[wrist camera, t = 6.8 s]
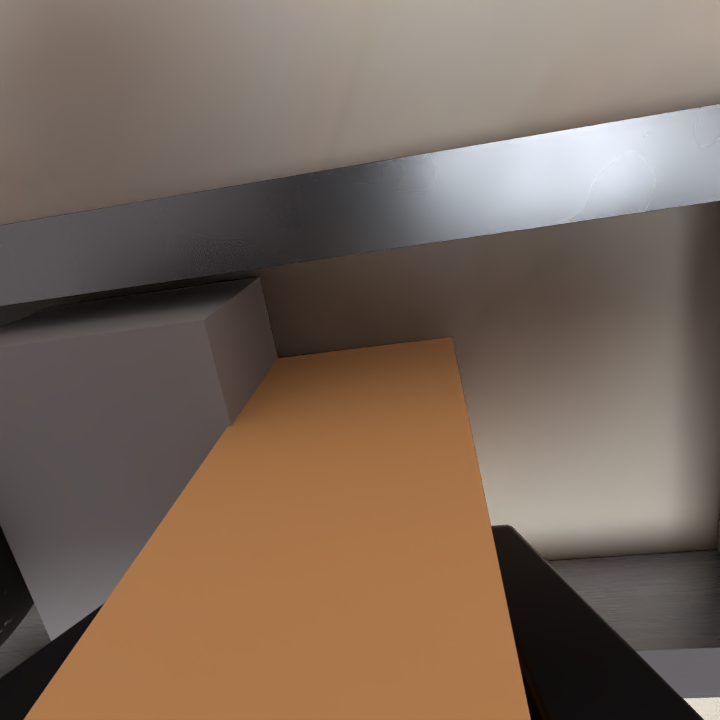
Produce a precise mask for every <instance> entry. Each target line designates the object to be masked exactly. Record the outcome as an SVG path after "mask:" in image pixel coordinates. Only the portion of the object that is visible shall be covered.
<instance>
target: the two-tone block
mask: <svg viewBox="0 0 720 720" xmlns="http://www.w3.org/2000/svg"><path fill="white" fill-rule="evenodd" d="M0 525H1V528H2V530H3V532H4V535H5V537H6V539H7V541H8V544H9V546H10V548H11V551H12V553H13V555H14V557H15V560H16V562H17V564H18V567H19V569H20V571H21V573H22V576H23V578H24V580H25V583H26V585H27V587H28V589H29V592H30V594H31V596H32V599H33V601H34V603H35V605H36V608H37V610H38V612H39V615H40V617H41V619H42V621H43V624H44V626H45V628H46V631H47V633H48V635H49V637H50V640H51V641H52V640H54V639H55V638H57V637H58V636H59V635H61V634H62V633H64V632H65V631H66V630H68V629H69V628H70V627H72V626H73V625H75V624H76V623H77V622H79V621H80V620H82V619H83V618H84V617H86V616H87V615H89V614H90V613H91V612H93V611H94V610H95V609H97V608H98V607H100V606H101V605H102V604H104V603H105V604H104V605H103V606H102V608H101V609H100V611H99V612H98V614H97V615H96V616H95V618H94V619H93V621H92V622H91V624H90V625H89V627H88V628H87V629H86V631H85V632H84V634H83V635H82V637H81V638H80V639H79V641H78V642H77V644H76V645H75V647H74V648H73V649H72V651H71V652H70V654H69V655H68V657H67V658H66V660H65V661H64V662H63V664H62V665H61V667H60V668H59V670H58V671H57V672H56V674H55V675H54V677H53V678H52V680H51V681H50V682H49V684H48V685H47V687H46V688H45V690H44V691H43V693H42V694H41V695H40V697H39V698H38V700H37V701H36V703H35V704H34V705H33V707H32V708H31V710H30V711H29V713H28V714H27V716H26V717H25V718H24V720H531V718H530V714H529V709H528V704H527V699H526V694H525V689H524V684H523V679H522V675H521V670H520V665H519V660H518V655H517V650H516V645H515V641H514V636H513V631H512V626H511V621H510V616H509V611H508V607H507V602H506V597H505V592H504V587H503V582H502V577H501V572H500V568H499V563H498V558H497V553H496V548H495V543H494V538H493V534H492V529H491V524H490V519H489V514H488V509H487V504H486V500H485V495H484V490H483V485H482V480H481V475H480V470H479V466H478V461H477V456H476V451H475V446H474V441H473V436H472V431H471V427H470V422H469V417H468V412H467V407H466V402H465V397H464V393H463V388H462V383H461V378H460V373H459V368H458V363H457V359H456V354H455V349H454V344H453V339H452V337H448V338H439V339H431V340H423V341H415V342H407V343H398V344H390V345H382V346H374V347H365V348H357V349H349V350H341V351H333V352H324V353H316V354H308V355H300V356H291V357H283V358H278V357H277V353H276V348H275V344H274V339H273V334H272V330H271V325H270V321H269V316H268V312H267V307H266V303H265V298H264V293H263V289H262V284H261V280H260V277H255V278H248V279H241V280H234V281H227V282H220V283H214V284H207V285H200V286H193V287H186V288H179V289H172V290H165V291H158V292H151V293H144V294H137V295H130V296H123V297H116V298H109V299H102V300H95V301H88V302H81V303H74V304H67V305H60V306H53V307H49V308H46V309H44V310H41V311H39V312H36V313H34V314H31V315H29V316H27V317H24V318H22V319H19V320H17V321H14V322H12V323H9V324H7V325H4V326H2V327H0Z"/></svg>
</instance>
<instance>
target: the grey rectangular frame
mask: <svg viewBox="0 0 720 720" xmlns="http://www.w3.org/2000/svg"><path fill="white" fill-rule="evenodd" d="M714 201H720V104H716V105H710V106H704V107H698V108H693V109H687V110H681V111H675V112H669V113H663V114H657V115H651V116H645V117H639V118H633V119H627V120H622V121H616V122H610V123H604V124H598V125H592V126H586V127H580V128H574V129H568V130H562V131H556V132H551V133H545V134H539V135H533V136H527V137H521V138H515V139H509V140H503V141H497V142H491V143H485V144H480V145H474V146H468V147H462V148H456V149H450V150H444V151H438V152H432V153H426V154H420V155H414V156H408V157H403V158H397V159H391V160H385V161H379V162H373V163H367V164H361V165H355V166H349V167H343V168H337V169H332V170H326V171H320V172H314V173H308V174H302V175H296V176H290V177H284V178H278V179H272V180H266V181H261V182H255V183H249V184H243V185H237V186H231V187H225V188H219V189H213V190H207V191H201V192H195V193H190V194H184V195H178V196H172V197H166V198H160V199H154V200H148V201H142V202H136V203H130V204H124V205H118V206H113V207H107V208H101V209H95V210H89V211H83V212H77V213H71V214H65V215H59V216H53V217H47V218H42V219H36V220H30V221H24V222H18V223H12V224H6V225H0V306H4V305H10V304H17V303H24V302H31V301H38V300H45V299H51V298H58V297H65V296H72V295H79V294H86V293H92V292H99V291H106V290H113V289H120V288H127V287H134V286H140V285H147V284H154V283H161V282H168V281H175V280H181V279H188V278H195V277H202V276H209V275H216V274H222V273H229V272H236V271H243V270H250V269H257V268H263V267H270V266H277V265H284V264H291V263H298V262H304V261H311V260H318V259H325V258H332V257H339V256H345V255H352V254H359V253H366V252H373V251H380V250H386V249H393V248H400V247H407V246H414V245H421V244H427V243H434V242H441V241H448V240H455V239H462V238H468V237H475V236H482V235H489V234H496V233H503V232H509V231H516V230H523V229H530V228H537V227H544V226H550V225H557V224H564V223H571V222H578V221H585V220H591V219H598V218H605V217H612V216H619V215H626V214H632V213H639V212H646V211H653V210H660V209H667V208H673V207H680V206H687V205H694V204H701V203H708V202H714ZM547 562H548V563H549V564H550V565H551V566H552V567H553V568H554V569H555V570H556V571H557V572H558V573H559V574H560V575H561V576H562V577H563V578H564V579H565V580H566V581H567V582H568V583H569V584H570V585H571V586H572V587H573V588H574V589H575V590H576V592H577V593H578V594H579V595H580V596H581V597H582V598H583V599H584V600H585V601H586V602H587V603H588V604H589V605H590V606H591V607H592V608H593V609H594V610H595V611H596V612H597V613H598V614H599V615H600V616H601V617H602V618H603V619H604V620H605V621H606V622H607V623H608V624H609V625H610V626H611V627H612V628H613V629H614V630H615V631H616V632H617V633H618V634H619V635H620V636H621V637H622V638H623V639H624V640H625V641H626V642H627V643H628V644H629V645H630V646H631V647H632V648H633V649H634V650H635V651H636V652H637V653H638V654H639V655H640V656H641V657H642V658H643V659H644V660H645V661H646V662H647V663H648V664H649V665H650V666H651V667H652V668H653V669H654V670H655V671H656V672H657V673H658V674H659V675H660V676H661V677H662V678H663V679H664V680H665V681H666V682H667V683H668V684H669V685H670V686H671V687H672V688H673V689H674V690H675V691H676V692H677V693H678V694H679V695H680V696H681V697H682V698H708V697H720V517H719V533H718V549H717V550H710V551H695V552H680V553H664V554H649V555H633V556H618V557H602V558H587V559H571V560H556V561H547ZM50 642H51V640H50V637H49V635H48V633H47V631H46V628H45V626H44V624H43V621H42V619H41V617H40V615H39V612H38V610H37V608H36V605H35V603H34V604H33V606H32V607H31V609H30V611H29V612H28V614H27V615H26V617H25V618H24V619H23V620H22V622H21V623H20V624H19V626H18V627H17V628H16V629H15V631H14V632H13V633H12V634H11V636H10V637H9V638H8V639H7V640H6V641H5V642H4V643H3V644H2V646H1V647H0V678H1V677H2V676H4V675H5V674H7V673H8V672H9V671H11V670H12V669H14V668H15V667H16V666H18V665H19V664H20V663H22V662H23V661H25V660H26V659H27V658H29V657H30V656H32V655H33V654H34V653H36V652H37V651H39V650H40V649H41V648H43V647H44V646H45V645H47V644H48V643H50Z"/></svg>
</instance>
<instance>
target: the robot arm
mask: <svg viewBox="0 0 720 720" xmlns="http://www.w3.org/2000/svg"><path fill="white" fill-rule="evenodd" d="M491 529H492V534H493V538H494V543H495V548H496V553H497V558H498V563H499V568H500V572H501V577H502V582H503V587H504V592H505V597H506V602H507V607H508V611H509V616H510V621H511V626H512V631H513V636H514V641H515V645H516V650H517V655H518V660H519V665H520V670H521V675H522V679H523V684H524V689H525V694H526V699H527V704H528V709H529V714H530V718H531V720H704V719H703V718H702V717H701V716H700V715H699V714H698V713H697V712H696V711H695V710H694V709H693V708H692V707H691V706H690V705H689V704H688V703H687V702H686V701H685V700H684V699H683V698H682V697H681V696H680V695H679V694H678V693H677V692H676V691H675V690H674V689H673V688H672V687H671V686H670V685H669V684H668V683H667V682H666V681H665V680H664V679H663V678H662V677H661V676H660V675H659V674H658V673H657V672H656V671H655V670H654V669H653V668H652V667H651V666H650V665H649V664H648V663H647V662H646V661H645V660H644V659H643V658H642V657H641V656H640V655H639V654H638V653H637V652H636V651H635V650H634V649H633V648H632V647H631V646H630V645H629V644H628V643H627V642H626V641H625V640H624V639H623V638H622V637H621V636H620V635H619V634H618V633H617V632H616V631H615V630H614V629H613V628H612V627H611V626H610V625H609V624H608V623H607V622H606V621H605V620H604V619H603V618H602V617H601V616H600V615H599V614H598V613H597V612H596V611H595V610H594V609H593V608H592V607H591V606H590V605H589V604H588V603H587V602H586V601H585V600H584V599H583V598H582V597H581V596H580V595H579V594H578V593H577V592H576V590H575V589H574V588H573V587H572V586H571V585H570V584H569V583H568V582H567V581H566V580H565V579H564V578H563V577H562V576H561V575H560V574H559V573H558V572H557V571H556V570H555V569H554V568H553V567H552V566H551V565H550V564H549V563H548V562H547V561H546V560H545V559H544V558H543V557H542V556H541V555H540V554H539V553H538V552H537V551H536V550H535V549H534V548H533V547H532V546H531V545H530V544H529V543H528V542H527V541H526V540H525V539H524V538H523V537H522V536H521V535H520V534H519V533H518V532H517V531H516V530H515V529H514V528H513V527H512V526H509V525H497V526H491ZM104 604H105V603H104ZM104 604H102V605H101V606H100V607H98V608H97V609H95V610H94V611H93V612H91V613H90V614H89V615H87V616H86V617H84V618H83V619H82V620H80V621H79V622H77V623H76V624H75V625H73V626H72V627H70V628H69V629H68V630H66V631H65V632H64V633H62V634H61V635H59V636H58V637H57V638H55V639H54V640H52V641H51V642H50V643H48V644H47V645H45V646H44V647H43V648H41V649H40V650H39V651H37V652H36V653H34V654H33V655H32V656H30V657H29V658H27V659H26V660H25V661H23V662H22V663H20V664H19V665H18V666H16V667H15V668H14V669H12V670H11V671H9V672H8V673H7V674H5V675H4V676H2V677H1V678H0V720H24V718H25V717H26V716H27V714H28V713H29V711H30V710H31V708H32V707H33V705H34V704H35V703H36V701H37V700H38V698H39V697H40V695H41V694H42V693H43V691H44V690H45V688H46V687H47V685H48V684H49V682H50V681H51V680H52V678H53V677H54V675H55V674H56V672H57V671H58V670H59V668H60V667H61V665H62V664H63V662H64V661H65V660H66V658H67V657H68V655H69V654H70V652H71V651H72V649H73V648H74V647H75V645H76V644H77V642H78V641H79V639H80V638H81V637H82V635H83V634H84V632H85V631H86V629H87V628H88V627H89V625H90V624H91V622H92V621H93V619H94V618H95V616H96V615H97V614H98V612H99V611H100V609H101V608H102V606H103V605H104Z"/></svg>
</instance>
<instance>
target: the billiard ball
mask: <svg viewBox="0 0 720 720" xmlns="http://www.w3.org/2000/svg"><path fill="white" fill-rule="evenodd" d="M33 604H34V601H33V599H32V596H31V594H30V592H29V589H28V587H27V585H26V583H25V580H24V578H23V576H22V573H21V571H20V569H19V567H18V564H17V562H16V560H15V557H14V555H13V553H12V551H11V548H10V546H9V544H8V541H7V539H6V537H5V535H4V532H3V530H2V528H1V525H0V647H1V646H2V644H3V643H4V642H5V641H6V640H7V639H8V638H9V637H10V636H11V634H12V633H13V632H14V631H15V629H16V628H17V627H18V626H19V624H20V623H21V622H22V620H23V619H24V618H25V617H26V615H27V614H28V612H29V611H30V609H31V607H32V606H33Z"/></svg>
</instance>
